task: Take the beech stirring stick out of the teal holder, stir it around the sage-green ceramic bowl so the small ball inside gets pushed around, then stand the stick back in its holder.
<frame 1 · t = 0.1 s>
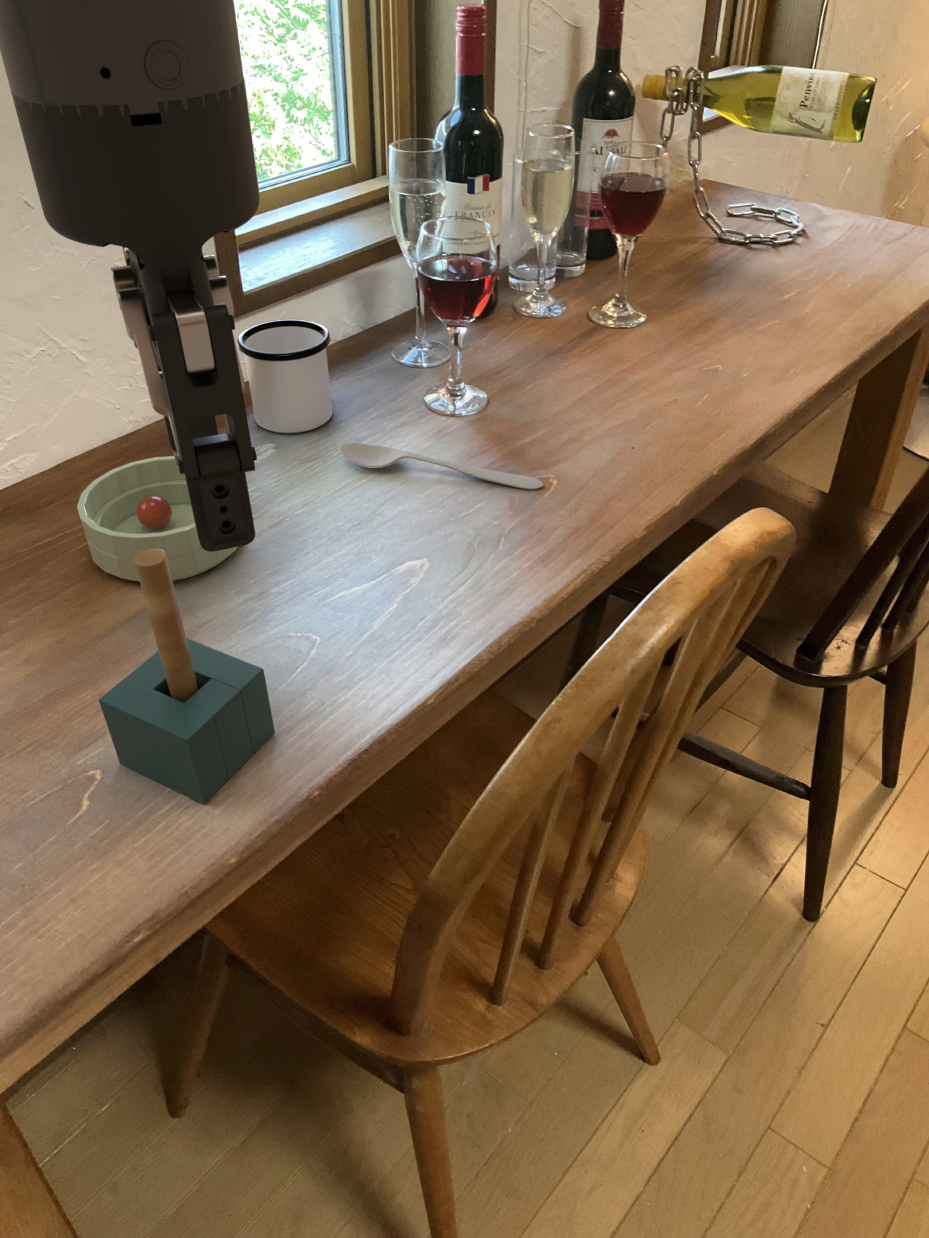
hand: (210, 492, 42), 26 cm above the table, tool pointing down, fingers open, 8 cm apart
ball: (154, 512, 85), point 2 cm above the table, touching bowl
stick: (176, 660, 61), in the holder
mug: (300, 413, 105), on the table
bowl: (170, 542, 85), on the table
spoon: (440, 474, 95), on the table
holder: (198, 748, 66), on the table
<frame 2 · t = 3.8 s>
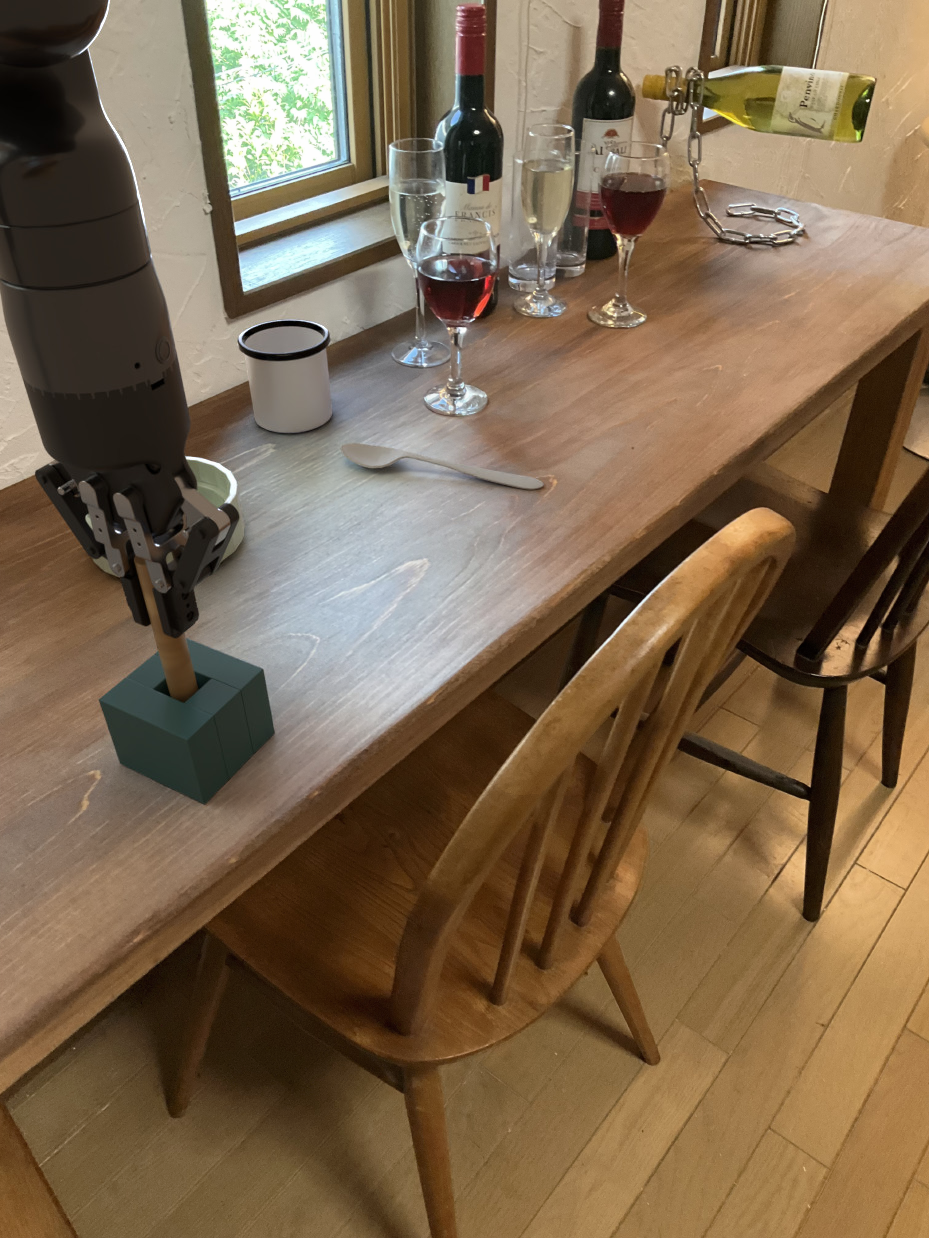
hand: (167, 622, 59), 11 cm above the table, tool pointing down, fingers closed on stick, 2 cm apart
stick: (176, 660, 61), in the holder, touching gripper
everything else where it was.
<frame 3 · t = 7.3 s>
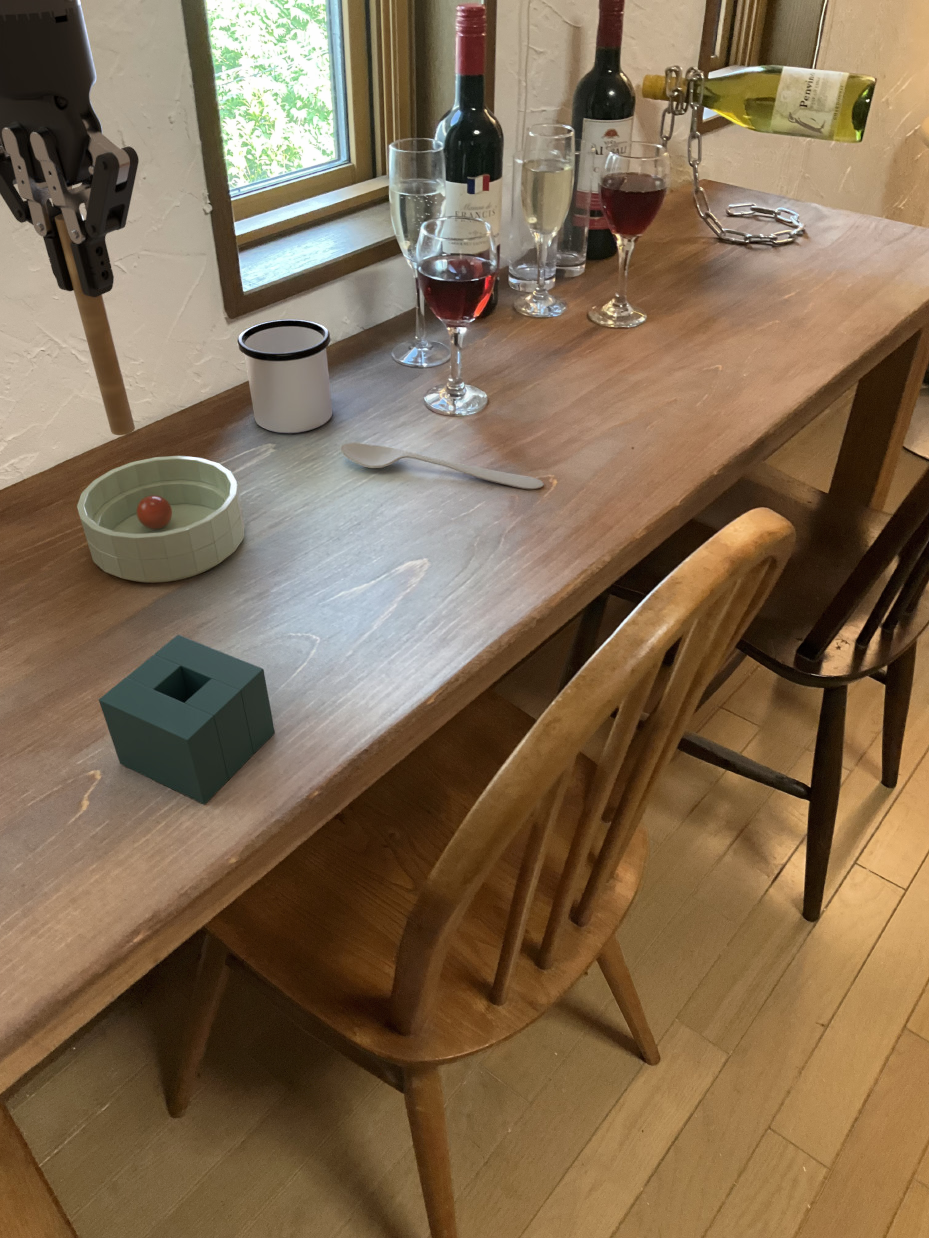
hand: (87, 289, 68), 24 cm above the table, tool pointing down, fingers closed on stick
stick: (97, 330, 70), point 21 cm above the table, touching gripper
everything else where it was.
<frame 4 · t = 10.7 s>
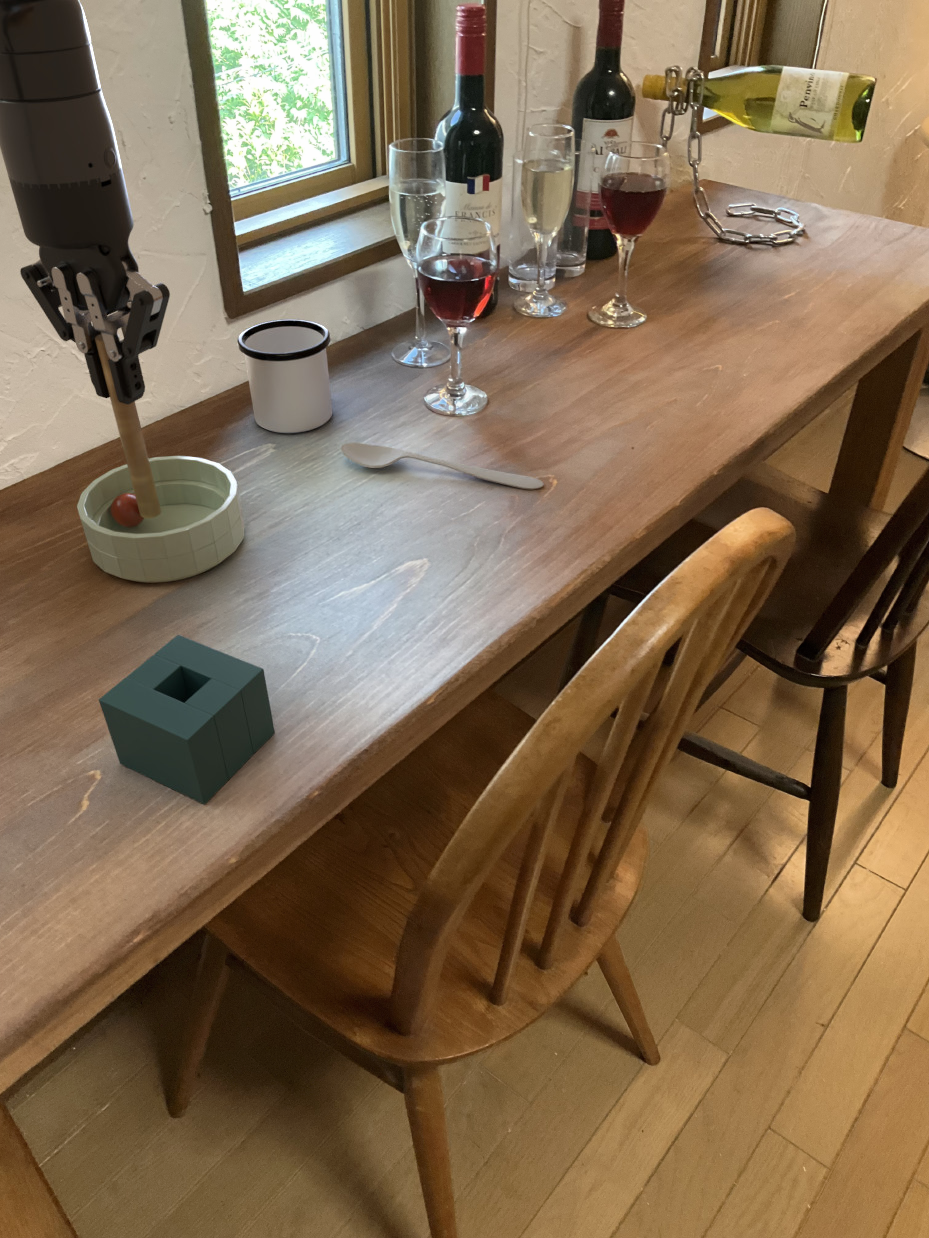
hand: (121, 396, 77), 14 cm above the table, tool pointing down, fingers closed on stick, 2 cm apart
ball: (128, 510, 85), point 2 cm above the table, tilted 91°, touching bowl, stick
stick: (130, 430, 79), point 11 cm above the table, touching ball, gripper
everything else where it was.
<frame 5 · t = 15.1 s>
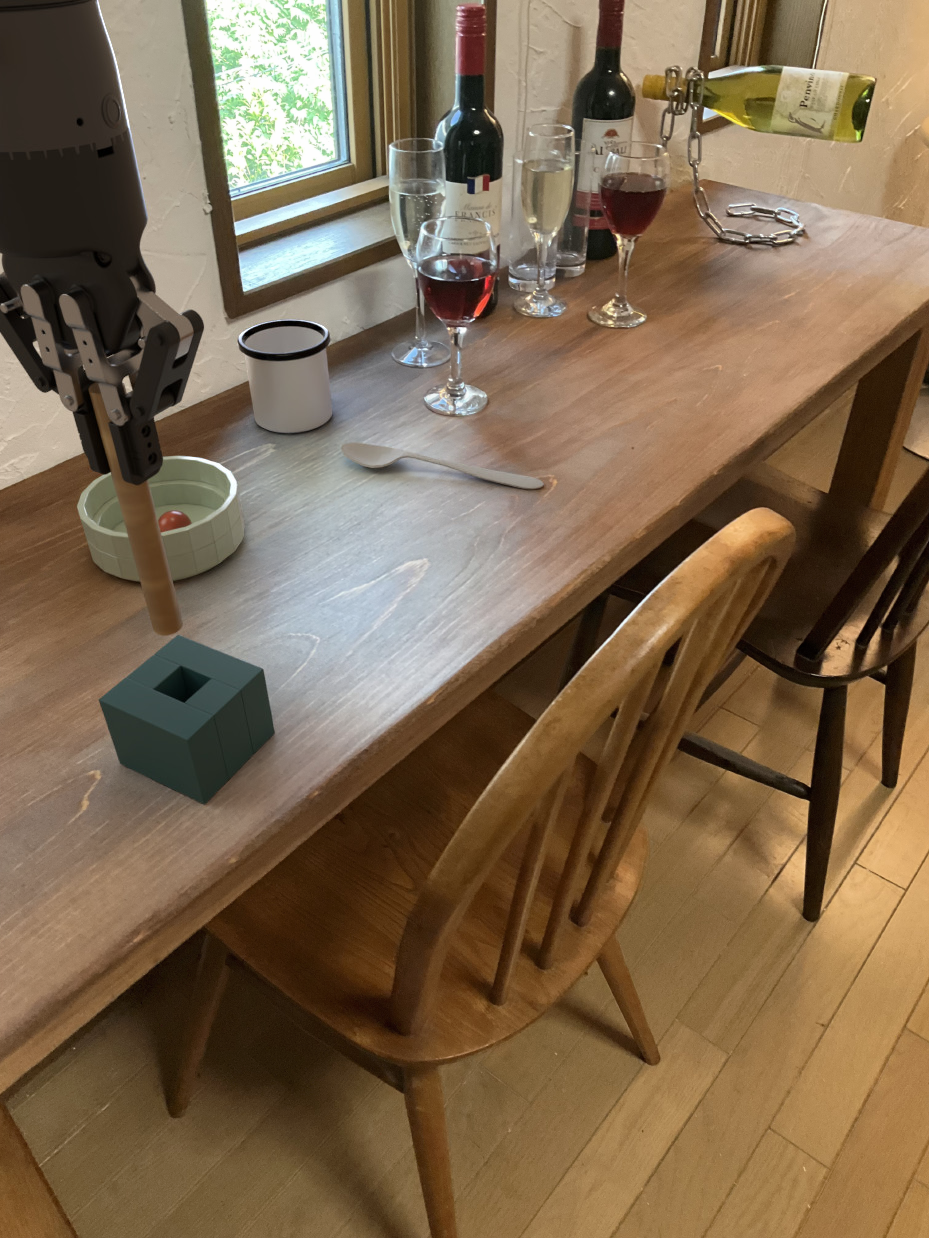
hand: (127, 471, 52), 22 cm above the table, tool pointing down, fingers closed on stick
ball: (174, 527, 83), point 2 cm above the table, tilted 86°, touching bowl
stick: (140, 517, 54), point 18 cm above the table, touching gripper
everything else where it was.
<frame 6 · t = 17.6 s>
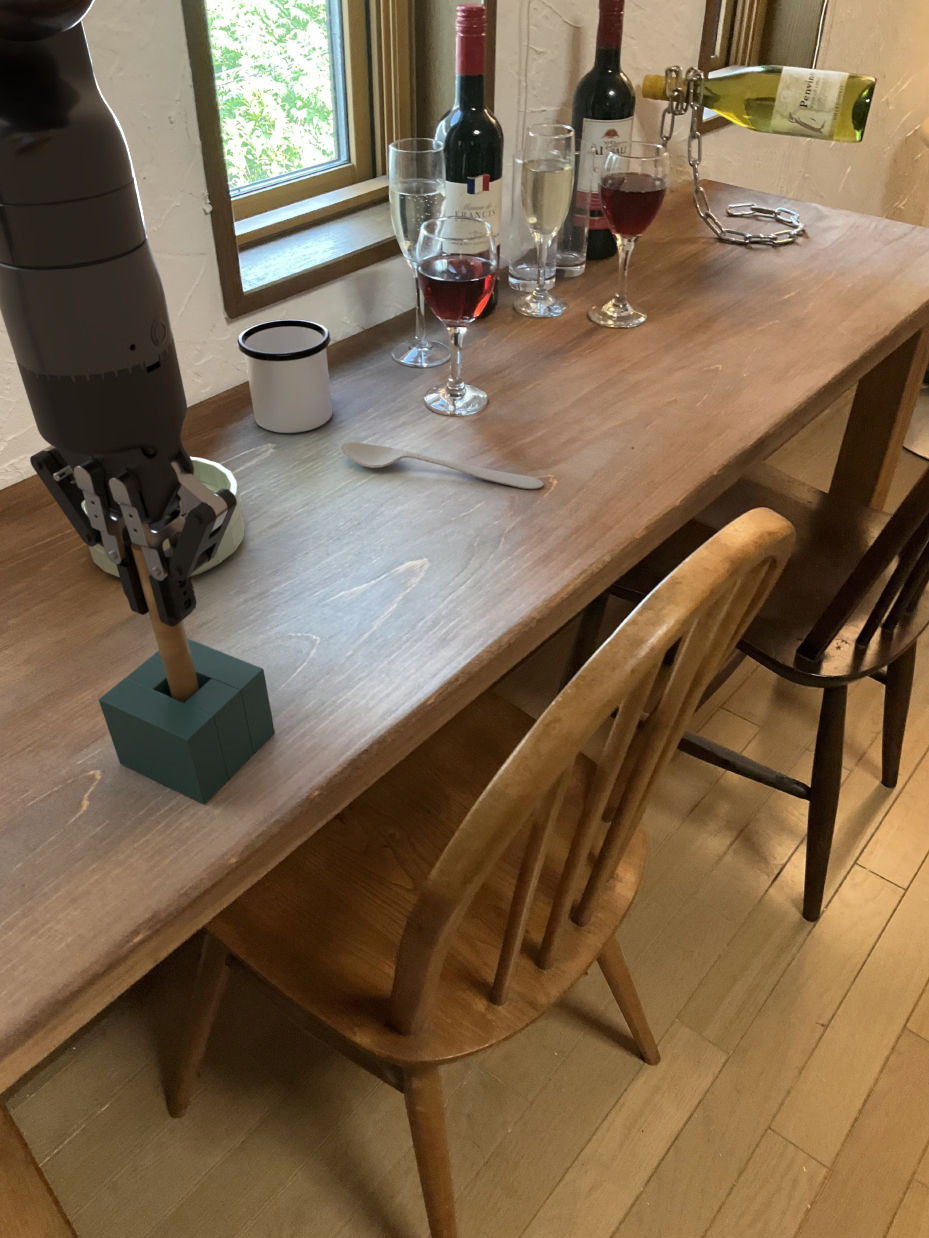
hand: (164, 611, 58), 12 cm above the table, tool pointing down, fingers closed on stick, 2 cm apart
ball: (151, 519, 84), point 2 cm above the table, tilted 25°, touching bowl
stick: (174, 648, 60), in the holder, point 9 cm above the table, touching gripper
everything else where it was.
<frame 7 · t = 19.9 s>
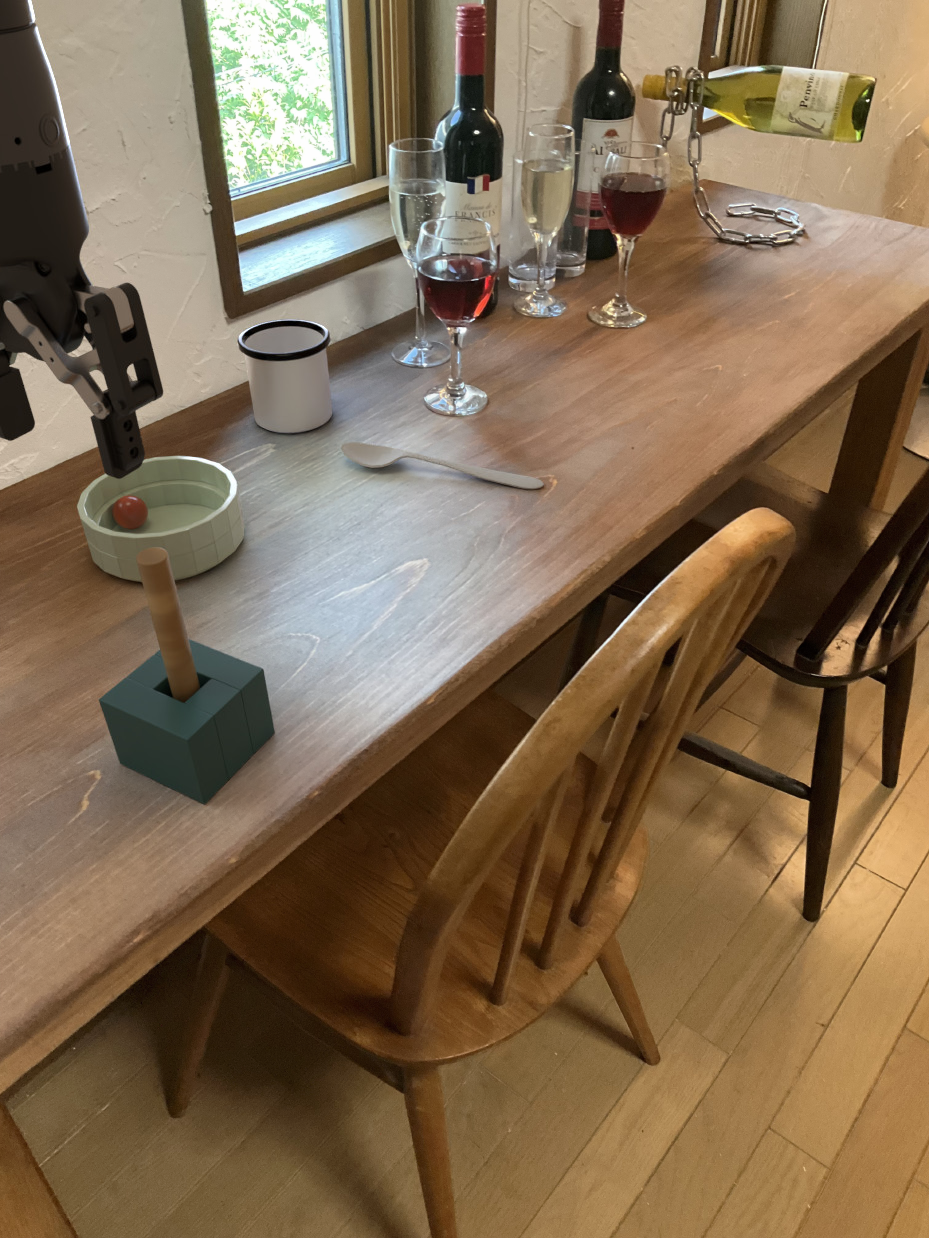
hand: (70, 452, 54), 21 cm above the table, tool pointing down, fingers open, 8 cm apart
ball: (130, 512, 85), point 2 cm above the table, tilted 111°, touching bowl
stick: (178, 659, 61), in the holder
everything else where it was.
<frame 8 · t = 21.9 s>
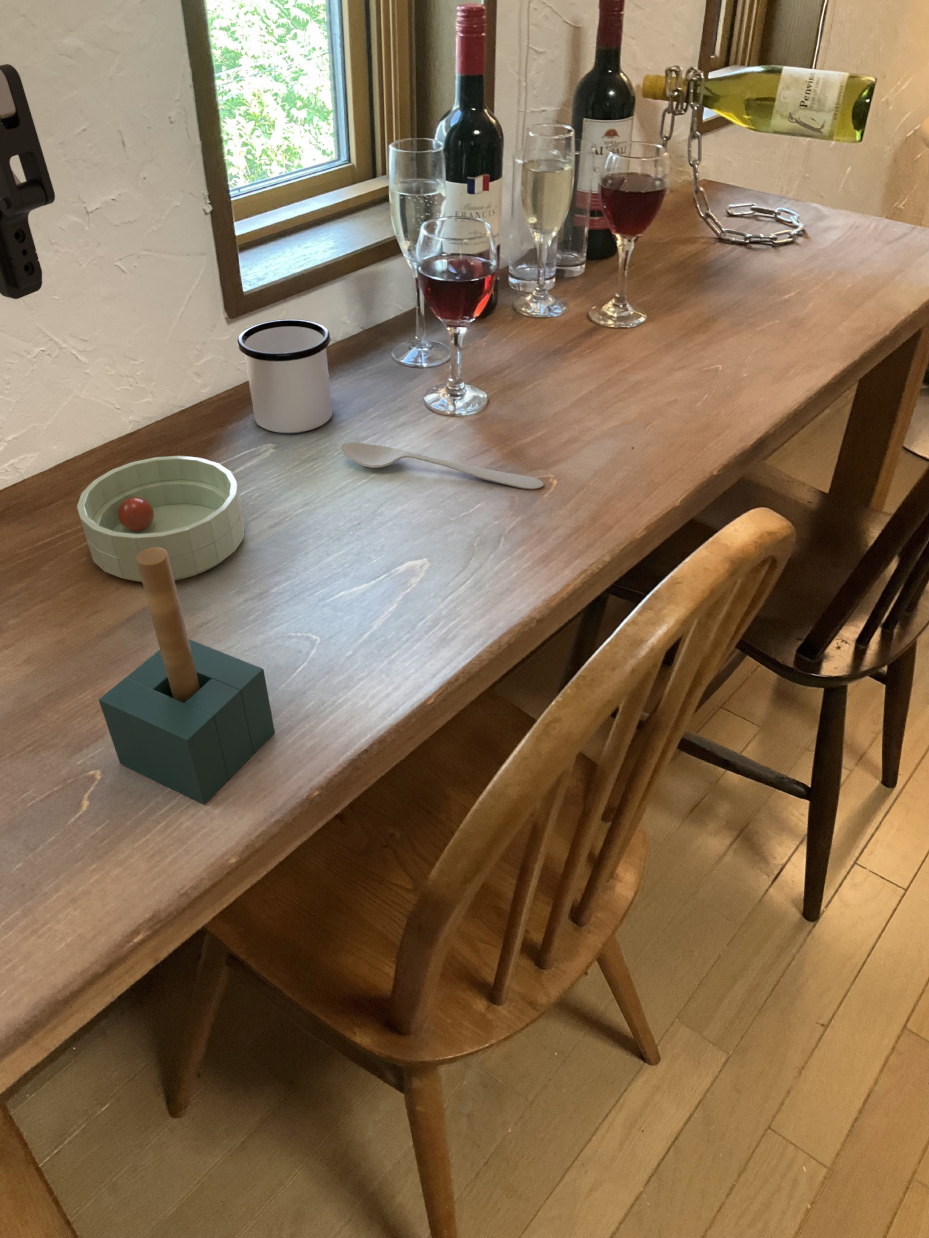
ball: (136, 514, 85), point 2 cm above the table, tilted 86°, touching bowl
everything else where it was.
at the end: ball moved 1.5 cm from its start; ball inside the target area in the bowl (3.1 cm from its centre), point 2.1 cm above the bowl's base; stick 0.1 cm off-centre in the holder, point 8.0 cm above the holder's base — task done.
